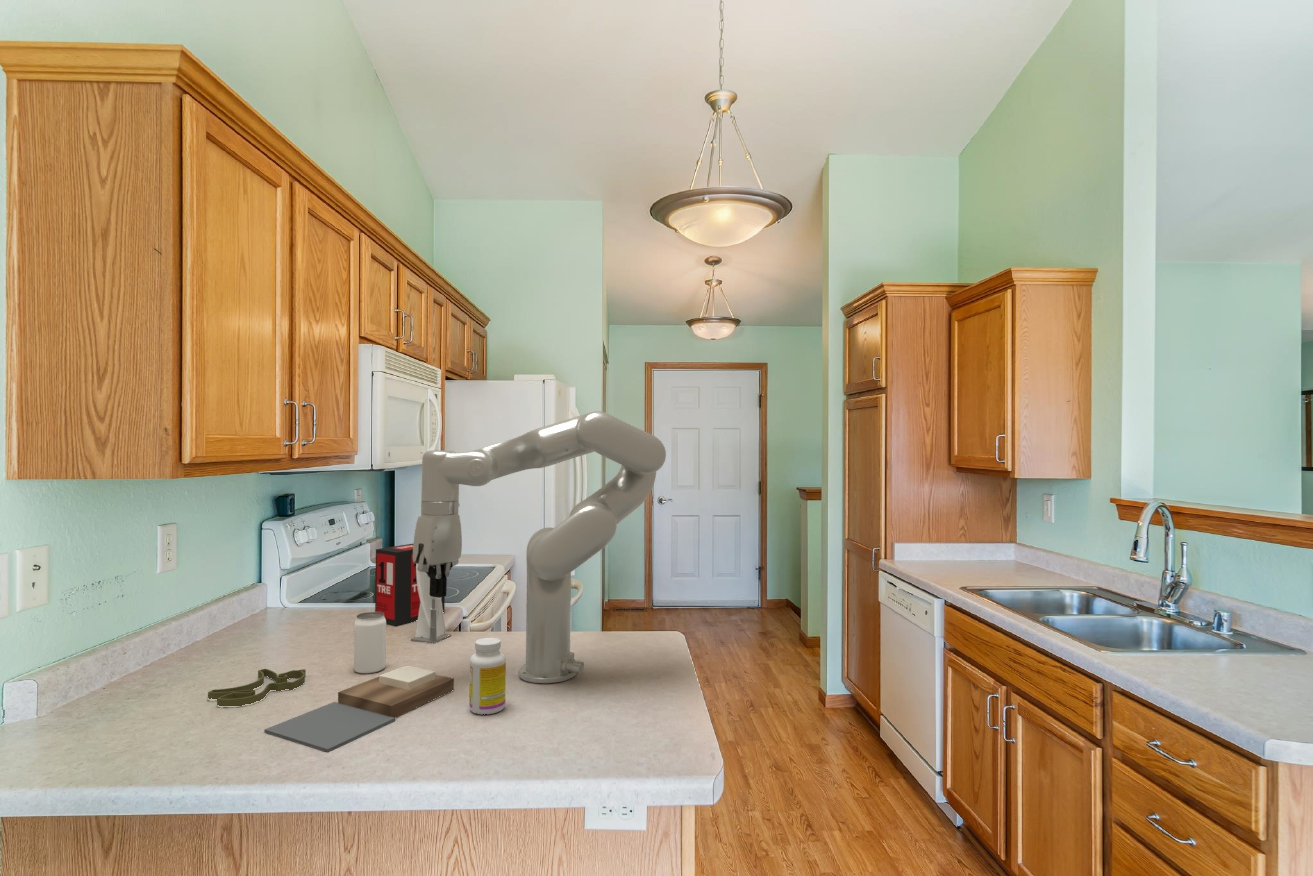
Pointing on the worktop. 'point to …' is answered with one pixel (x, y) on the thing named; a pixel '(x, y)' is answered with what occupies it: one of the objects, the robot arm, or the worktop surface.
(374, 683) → the brown wooden flat block
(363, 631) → the can
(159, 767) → the worktop surface
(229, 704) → the cookie cutter
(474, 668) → the supplement bottle
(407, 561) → the cleaning product box
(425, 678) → the tile
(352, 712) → the mat
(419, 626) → the skyscraper
